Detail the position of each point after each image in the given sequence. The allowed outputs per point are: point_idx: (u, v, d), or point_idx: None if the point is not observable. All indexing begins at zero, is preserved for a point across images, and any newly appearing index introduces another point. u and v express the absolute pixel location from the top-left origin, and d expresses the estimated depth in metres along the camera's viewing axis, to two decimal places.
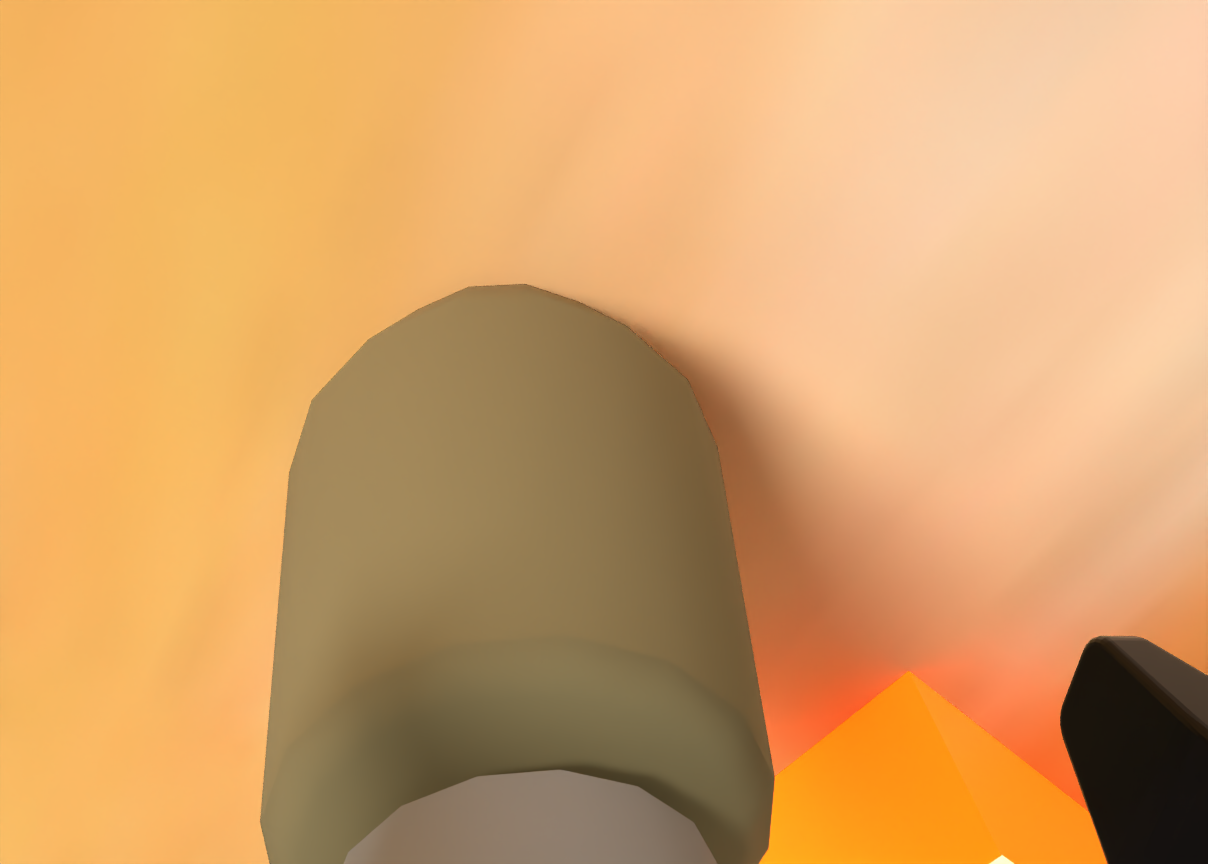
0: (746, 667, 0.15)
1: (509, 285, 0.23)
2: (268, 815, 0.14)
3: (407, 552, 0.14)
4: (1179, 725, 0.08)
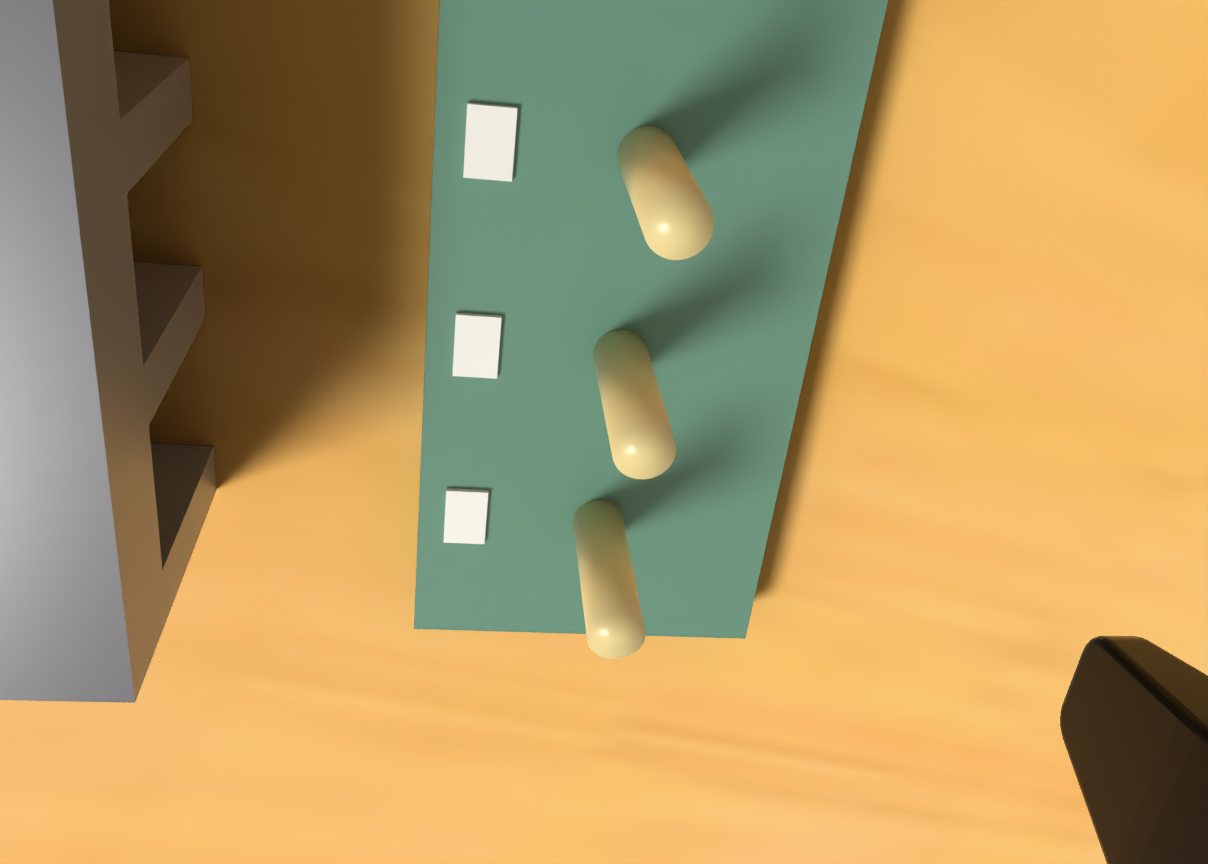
0: None
1: None
2: None
3: None
4: (1179, 726, 0.08)
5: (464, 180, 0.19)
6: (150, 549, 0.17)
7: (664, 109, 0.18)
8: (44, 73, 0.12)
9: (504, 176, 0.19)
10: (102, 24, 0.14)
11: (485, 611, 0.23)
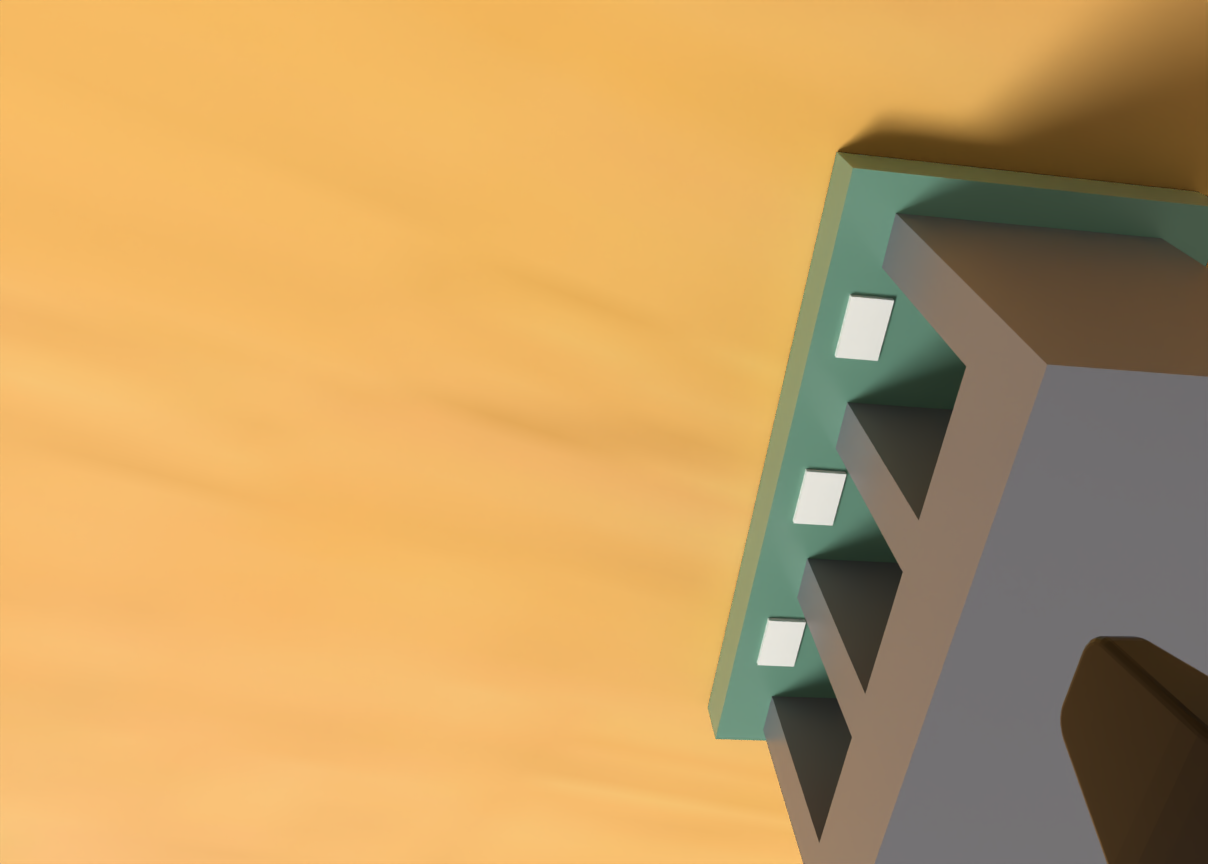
0: None
1: None
2: None
3: None
4: (1179, 726, 0.08)
5: (835, 359, 0.21)
6: None
7: None
8: None
9: (870, 356, 0.21)
10: None
11: None
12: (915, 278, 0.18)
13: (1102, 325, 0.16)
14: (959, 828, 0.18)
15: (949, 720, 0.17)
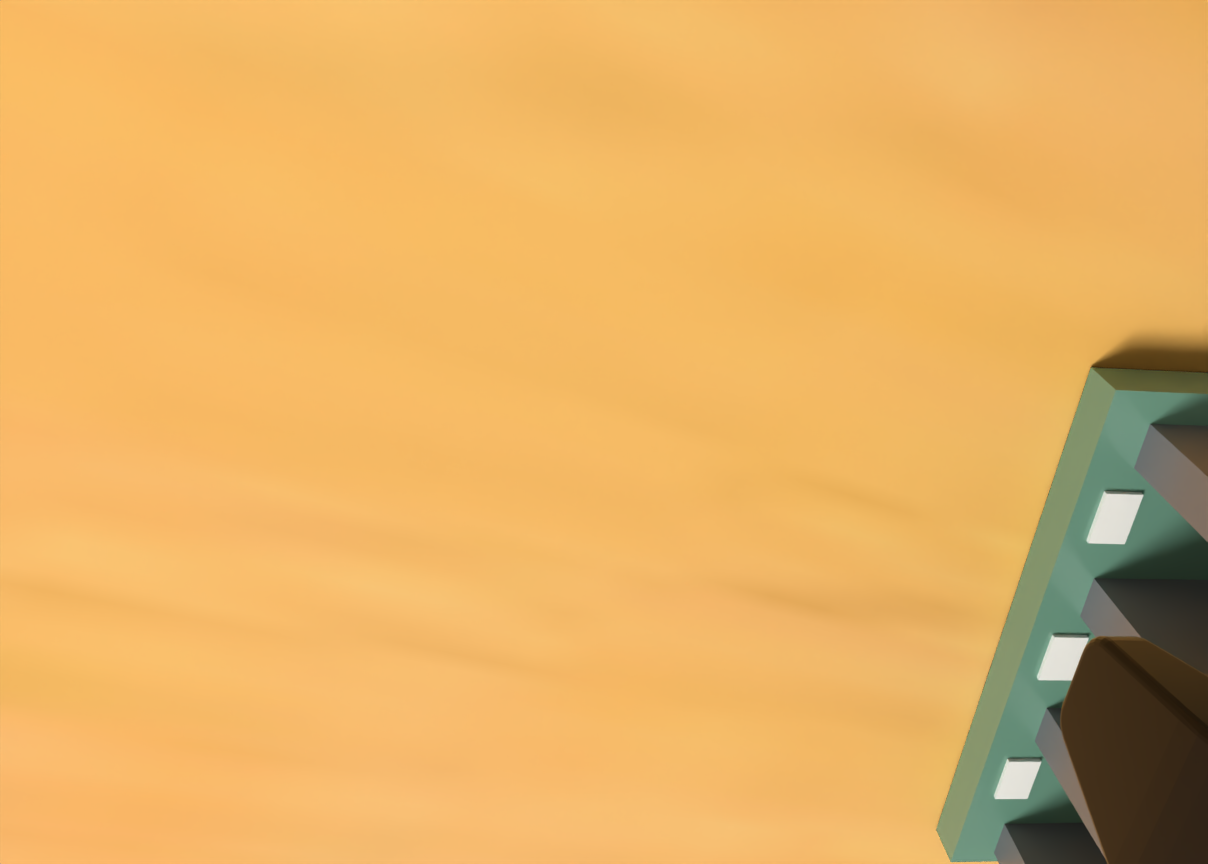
0: None
1: None
2: None
3: None
4: (1179, 726, 0.08)
5: (1086, 544, 0.23)
6: None
7: None
8: None
9: (1118, 540, 0.23)
10: None
11: None
12: (1181, 491, 0.21)
13: None
14: None
15: None
